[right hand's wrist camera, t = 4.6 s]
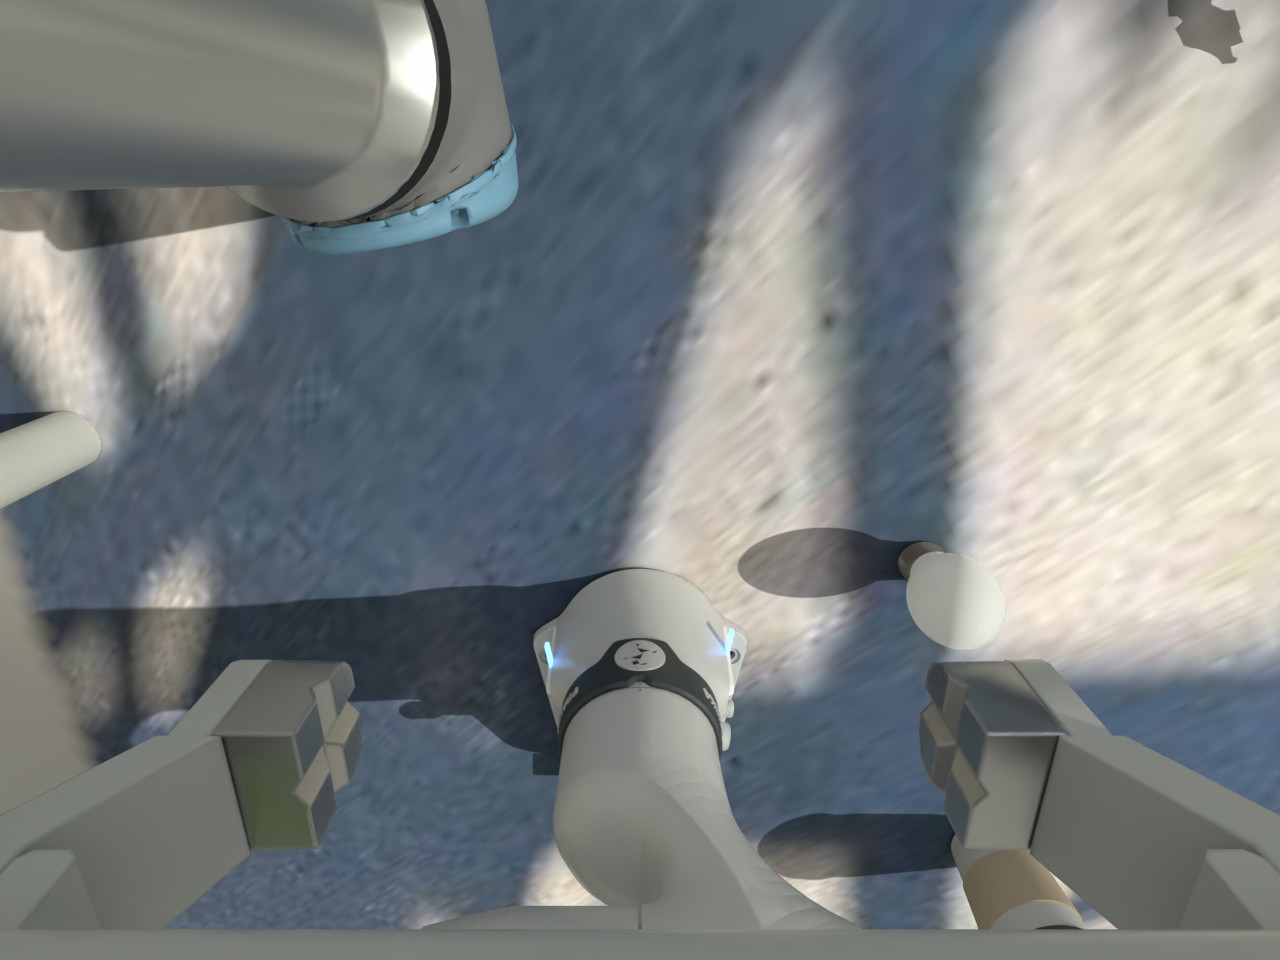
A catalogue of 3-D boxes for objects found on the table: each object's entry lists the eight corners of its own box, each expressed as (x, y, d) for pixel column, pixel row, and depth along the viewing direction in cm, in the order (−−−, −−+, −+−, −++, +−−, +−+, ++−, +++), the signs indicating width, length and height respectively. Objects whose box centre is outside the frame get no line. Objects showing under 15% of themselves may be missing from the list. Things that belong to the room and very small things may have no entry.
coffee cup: (926, 830, 74) (992, 978, 60) (1012, 794, 73) (1101, 939, 59) (959, 887, 77) (1030, 1042, 63) (1043, 854, 76) (1135, 1005, 62)
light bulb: (876, 591, 64) (920, 667, 54) (892, 520, 62) (942, 586, 52) (952, 597, 65) (1011, 674, 54) (972, 526, 62) (1038, 593, 52)
